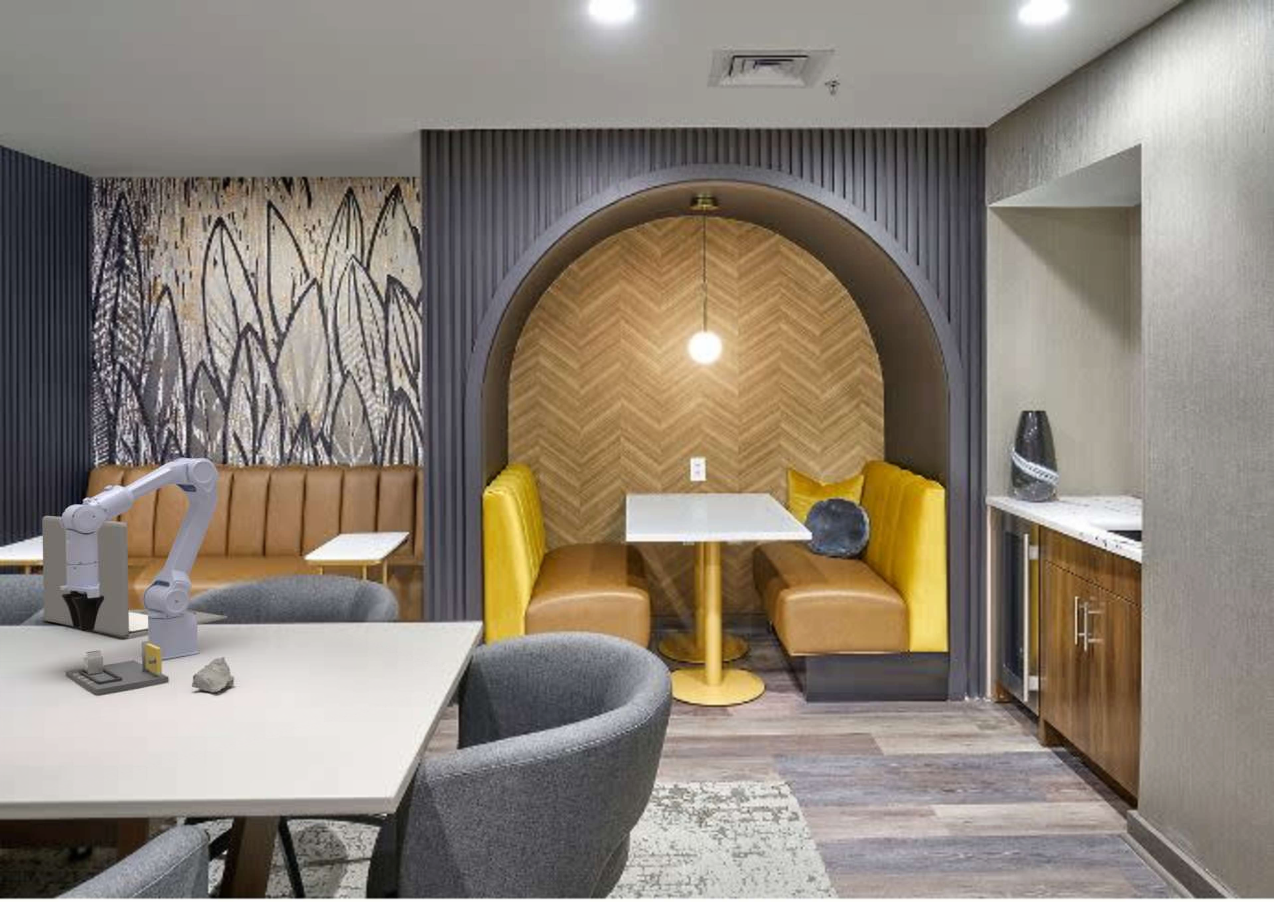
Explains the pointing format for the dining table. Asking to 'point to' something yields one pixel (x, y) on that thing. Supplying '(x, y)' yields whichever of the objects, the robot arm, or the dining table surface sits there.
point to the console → (118, 677)
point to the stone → (213, 676)
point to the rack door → (153, 658)
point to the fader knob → (93, 662)
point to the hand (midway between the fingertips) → (83, 628)
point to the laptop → (110, 576)
